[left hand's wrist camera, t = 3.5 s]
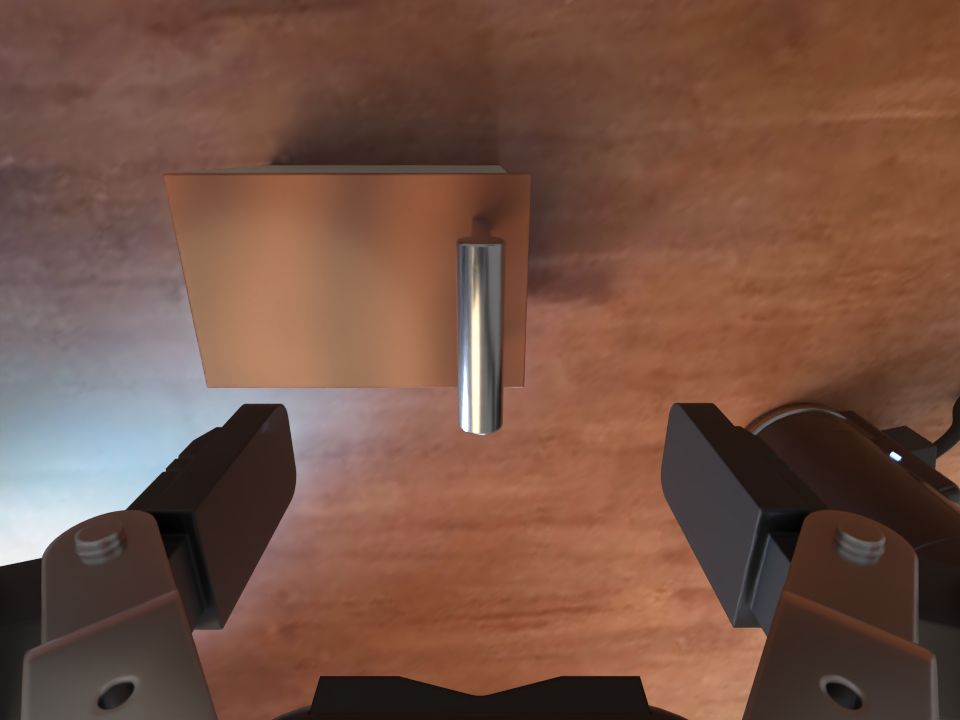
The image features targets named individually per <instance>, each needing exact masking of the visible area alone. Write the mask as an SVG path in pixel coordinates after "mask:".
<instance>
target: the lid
mask: <svg viewBox="0 0 960 720" xmlns="http://www.w3.org/2000/svg"><path fill="white" fill-rule="evenodd" d="M163 178H164V182H165V187H166V192H167V197H168V202H169V206H170V211H171V216H172V221H173V226H174V230H175V235H176V240H177V245H178V250H179V254H180V259H181V264H182V269H183V274H184V278H185V283H186V288H187V293H188V298H189V302H190V307H191V312H192V317H193V322H194V326H195V331H196V336H197V341H198V346H199V350H200V355H201V360H202V365H203V370H204V374H205V379H206V384H207V387H208V388H458V417H459V426H460V428H461V429H462V430H463V431H465V432H467V433H470V434H475V435H486V434H491V433H494V432H496V431H498V430H499V429H500V428H501V427H502V424H503V387H524V374H525V344H526V315H527V286H528V256H529V227H530V197H531V174H529V173H170V174H163Z"/></svg>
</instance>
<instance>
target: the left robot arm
mask: <svg viewBox="0 0 960 720" xmlns="http://www.w3.org/2000/svg"><path fill="white" fill-rule="evenodd" d="M959 440H960V397H959V398H958V399H957V401H956V402H955V404H954V407H953V422H952V425H951V427H950V428H949V429H948V431H947V432H946V433H945V434H944V435H943V436H942V437H940V438H939V439H938V440H937V441H935V442H934V443H931V442H930V441H928V440H927V439H925V438H924V437H922V436H921V435H919V434H918V433H916V432H915V431H913V430H911V429H910V428H908V427H907V426H901V427H896V428H892V429H887V430H882V431H880V430H879V429H877V428H876V427H875V426H873V425H872V424H870V423H869V422H868V421H866V420H865V419H863V418H862V417H861V416H859V415H858V414H856V413H855V412H853V411H848V412H843V413H838V412H837V411H835V410H833V409H831V408H829V407H826V406H822V405H817V404H794V405H789V406H785V407H782V408H779V409H776V410H774V411H772V412H769V413H768V414H766V415H764V416H762V417H761V418H759V419H758V420H756V421H755V422H754V423H753V424H751V425H750V426H749V427H748V428H747V429H744V428H742V427H740V426H734V425H733V424H732V423H731V422H730V421H729V420H728V419H727V417H726V416H725V415H724V414H723V413H722V412H721V411H720V410H719V409H718V408H717V406H716V405H714V404H713V403H675V404H673V406H672V407H671V410H670V413H669V419H668V426H667V433H666V440H665V446H664V453H663V460H662V467H661V483H662V489H663V493H664V496H665V498H666V501H667V502H668V504H669V506H670V508H671V510H672V512H673V514H674V516H675V518H676V520H677V521H678V523H679V525H680V527H681V529H682V531H683V533H684V535H685V537H686V538H687V540H688V542H689V544H690V546H691V548H692V550H693V552H694V554H695V556H696V557H697V559H698V561H699V563H700V565H701V567H702V569H703V571H704V573H705V575H706V576H707V578H708V580H709V582H710V584H711V586H712V588H713V590H714V592H715V593H716V595H717V597H718V599H719V601H720V603H721V605H722V607H723V609H724V611H725V612H726V614H727V616H728V618H729V620H730V622H731V624H732V626H733V628H762V629H763V631H764V633H765V634H766V636H767V640H766V643H765V646H764V650H763V653H762V656H761V659H760V663H759V666H758V669H757V673H756V676H755V679H754V682H753V686H752V689H751V692H750V695H749V699H748V702H747V705H746V709H745V712H744V715H743V718H742V720H960V488H959V487H958V486H957V485H956V484H955V483H954V482H952V481H951V480H949V479H948V478H947V477H945V476H944V475H942V474H941V473H940V472H938V471H937V470H935V465H936V459H937V458H938V457H940V456H941V455H943V454H944V453H945V452H947V451H948V450H949V449H951V448H952V447H953V446H954V445H955V444H956V443H957V442H958V441H959ZM295 485H296V466H295V459H294V453H293V446H292V439H291V433H290V426H289V420H288V414H287V410H286V408H285V406H284V405H283V404H244V405H242V406H241V407H240V408H239V409H238V410H237V411H236V412H235V414H234V415H233V416H232V417H231V418H230V419H229V420H228V421H227V422H226V423H225V424H224V425H223V427H216V428H214V429H213V430H211V431H209V432H207V433H206V434H204V435H202V436H200V437H199V438H197V439H195V440H193V441H192V442H191V443H190V444H189V445H188V447H187V448H186V449H185V450H184V451H183V452H182V453H181V454H180V455H179V458H178V459H175V460H174V461H173V462H172V463H171V464H170V465H169V466H168V467H167V468H166V472H162V473H161V474H160V475H159V476H158V477H157V478H156V479H155V480H154V481H153V482H152V483H151V484H150V485H149V486H148V487H147V489H146V490H145V491H144V492H143V493H142V494H141V495H140V496H139V497H138V498H137V499H136V500H135V501H134V502H133V503H132V504H131V505H130V506H129V507H128V508H127V509H126V510H123V511H115V512H110V513H106V514H103V515H99V516H96V517H93V518H91V519H88V520H86V521H84V522H81V523H79V524H77V525H76V526H74V527H72V528H70V529H69V530H67V531H65V532H64V533H62V534H61V535H60V536H59V537H57V538H56V539H55V540H54V541H53V542H52V543H51V544H50V545H49V546H48V547H47V549H46V550H45V552H44V554H43V556H42V558H39V559H35V560H30V561H25V562H20V563H15V564H10V565H5V566H0V720H218V718H217V715H216V712H215V709H214V705H213V702H212V699H211V695H210V692H209V689H208V686H207V682H206V679H205V676H204V673H203V669H202V666H201V663H200V659H199V656H198V653H197V650H196V646H195V643H194V640H193V636H192V632H193V630H222V629H223V627H224V626H225V624H226V622H227V620H228V618H229V616H230V614H231V612H232V611H233V609H234V607H235V605H236V603H237V601H238V599H239V597H240V596H241V594H242V592H243V590H244V588H245V586H246V584H247V582H248V581H249V579H250V577H251V575H252V573H253V571H254V569H255V567H256V566H257V564H258V562H259V560H260V558H261V556H262V554H263V552H264V551H265V549H266V547H267V545H268V543H269V541H270V539H271V537H272V536H273V534H274V532H275V530H276V528H277V526H278V524H279V522H280V521H281V519H282V517H283V515H284V513H285V511H286V509H287V507H288V506H289V504H290V502H291V500H292V498H293V495H294V491H295ZM272 720H688V719H686V718H684V717H682V716H679V715H677V714H674V713H671V712H669V711H666V710H663V709H661V708H658V707H654V706H650V705H648V702H647V699H646V695H645V692H644V689H643V685H642V682H641V679H640V676H560V677H556V678H552V679H549V680H545V681H541V682H537V683H533V684H529V685H525V686H521V687H517V688H513V689H510V690H506V691H502V692H498V693H494V694H490V695H485V696H475V695H470V694H466V693H462V692H458V691H454V690H450V689H447V688H443V687H439V686H435V685H431V684H427V683H423V682H419V681H415V680H411V679H408V678H404V677H400V676H320V679H319V682H318V685H317V689H316V692H315V695H314V699H313V702H312V705H310V706H306V707H302V708H299V709H297V710H294V711H291V712H289V713H286V714H283V715H281V716H278V717H276V718H274V719H272Z"/></svg>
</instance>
